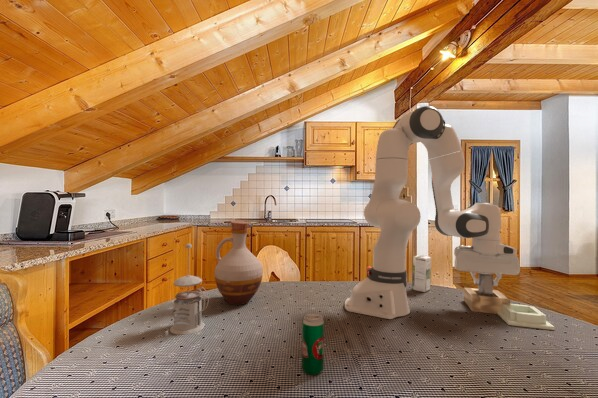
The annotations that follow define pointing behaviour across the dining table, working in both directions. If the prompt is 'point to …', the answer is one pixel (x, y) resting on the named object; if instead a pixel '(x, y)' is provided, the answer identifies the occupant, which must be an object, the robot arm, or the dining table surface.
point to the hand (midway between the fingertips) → (485, 284)
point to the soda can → (313, 344)
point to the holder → (524, 316)
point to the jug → (238, 268)
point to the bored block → (485, 301)
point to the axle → (485, 284)
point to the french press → (188, 305)
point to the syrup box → (421, 273)
